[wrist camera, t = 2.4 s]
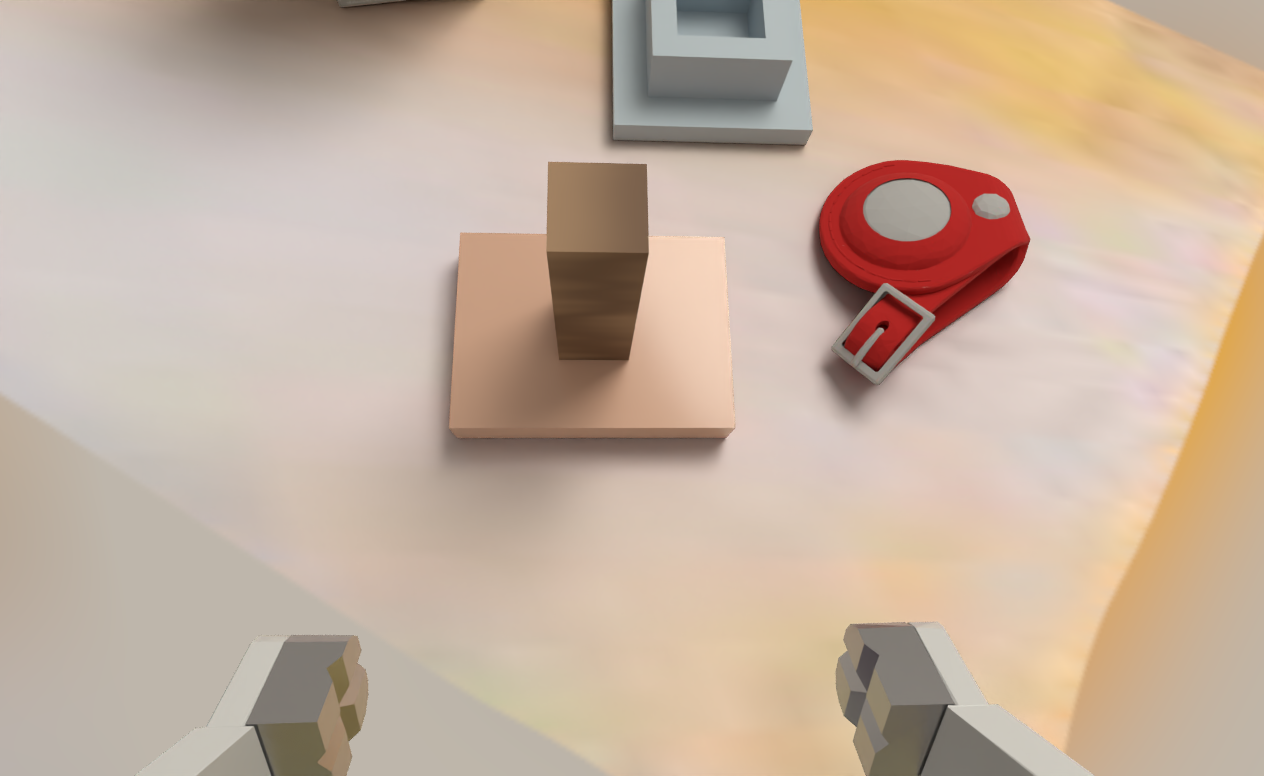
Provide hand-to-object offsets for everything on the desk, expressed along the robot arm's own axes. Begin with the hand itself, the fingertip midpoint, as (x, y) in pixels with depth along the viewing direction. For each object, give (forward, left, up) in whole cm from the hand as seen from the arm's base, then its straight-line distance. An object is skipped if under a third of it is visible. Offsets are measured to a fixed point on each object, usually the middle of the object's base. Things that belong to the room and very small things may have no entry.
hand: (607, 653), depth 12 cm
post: (0, +12, -16) cm, 20 cm away
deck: (0, +12, -18) cm, 22 cm away
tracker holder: (+15, +16, -19) cm, 28 cm away
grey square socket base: (+6, +28, -18) cm, 34 cm away
